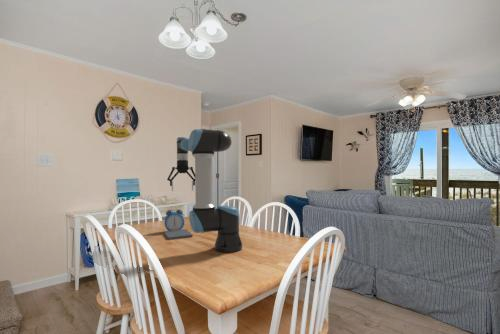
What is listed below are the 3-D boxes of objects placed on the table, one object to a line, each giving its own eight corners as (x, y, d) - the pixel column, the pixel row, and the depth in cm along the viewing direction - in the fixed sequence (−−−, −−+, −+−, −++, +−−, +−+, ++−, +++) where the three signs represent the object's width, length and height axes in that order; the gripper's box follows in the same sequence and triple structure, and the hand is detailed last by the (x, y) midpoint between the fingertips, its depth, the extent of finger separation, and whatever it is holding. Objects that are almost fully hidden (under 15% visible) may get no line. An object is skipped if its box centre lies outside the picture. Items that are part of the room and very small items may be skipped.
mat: (192, 236, 176) (192, 234, 176) (168, 239, 170) (168, 236, 170) (186, 231, 191) (186, 228, 191) (164, 234, 184) (164, 231, 184)
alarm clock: (164, 233, 186) (164, 211, 186) (164, 231, 192) (164, 209, 192) (184, 231, 190) (184, 210, 190) (183, 229, 196) (183, 208, 196)
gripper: (200, 160, 198) (200, 189, 198) (163, 159, 191) (163, 190, 191) (201, 159, 190) (201, 190, 191) (163, 159, 183) (163, 191, 184)
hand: (182, 190), depth 191 cm, fingers open, 13 cm apart
